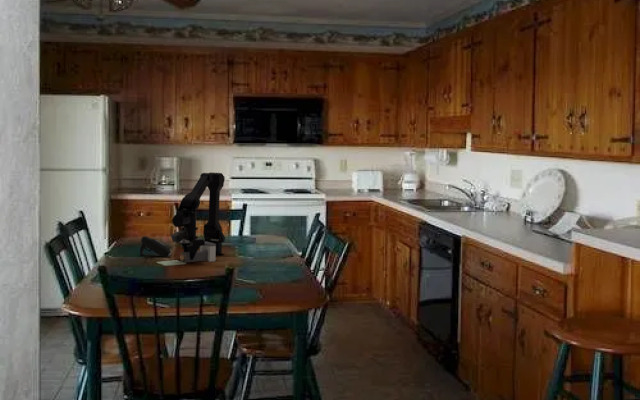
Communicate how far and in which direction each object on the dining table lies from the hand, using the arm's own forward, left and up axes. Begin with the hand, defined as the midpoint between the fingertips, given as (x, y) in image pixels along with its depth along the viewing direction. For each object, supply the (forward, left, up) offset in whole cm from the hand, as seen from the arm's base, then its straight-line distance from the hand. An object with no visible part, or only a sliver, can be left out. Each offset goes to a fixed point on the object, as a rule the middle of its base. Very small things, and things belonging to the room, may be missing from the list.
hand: (189, 259), depth 320 cm
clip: (-9, 0, -1) cm, 10 cm away
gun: (+7, -20, -2) cm, 21 cm away
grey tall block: (-4, 0, -1) cm, 4 cm away
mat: (+9, 0, -1) cm, 9 cm away
